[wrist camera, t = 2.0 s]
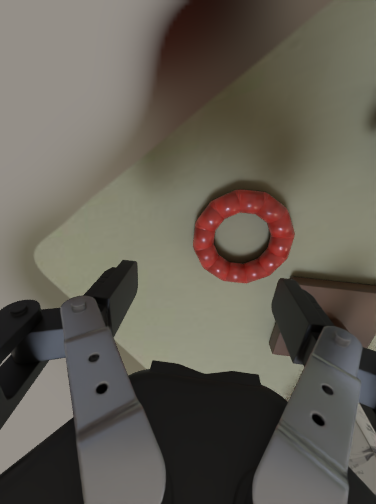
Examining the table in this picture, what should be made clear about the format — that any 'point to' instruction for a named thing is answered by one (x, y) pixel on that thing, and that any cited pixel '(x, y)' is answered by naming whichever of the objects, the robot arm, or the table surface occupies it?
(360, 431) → the ink box
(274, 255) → the ring
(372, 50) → the table surface
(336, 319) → the stand
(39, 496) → the robot arm
